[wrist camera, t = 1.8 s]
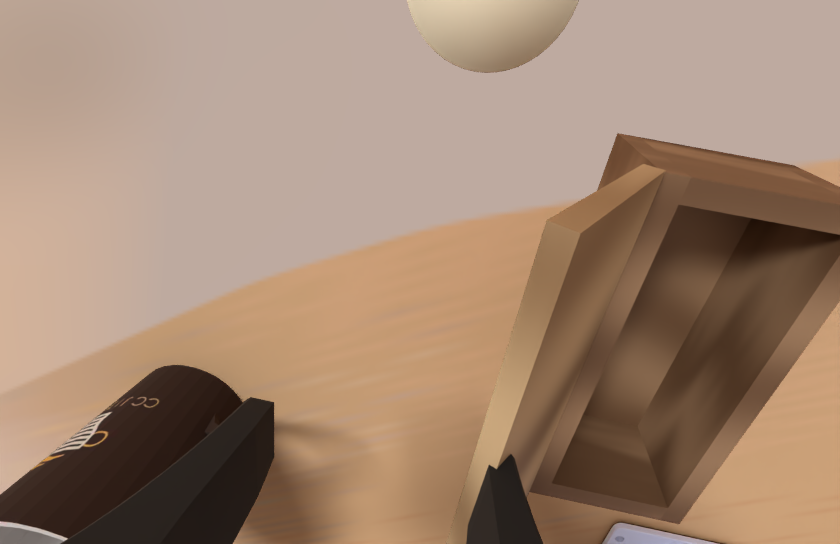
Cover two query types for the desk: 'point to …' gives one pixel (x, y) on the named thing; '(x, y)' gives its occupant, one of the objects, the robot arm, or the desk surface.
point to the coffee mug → (115, 455)
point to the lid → (557, 328)
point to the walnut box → (695, 327)
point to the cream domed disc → (490, 30)
